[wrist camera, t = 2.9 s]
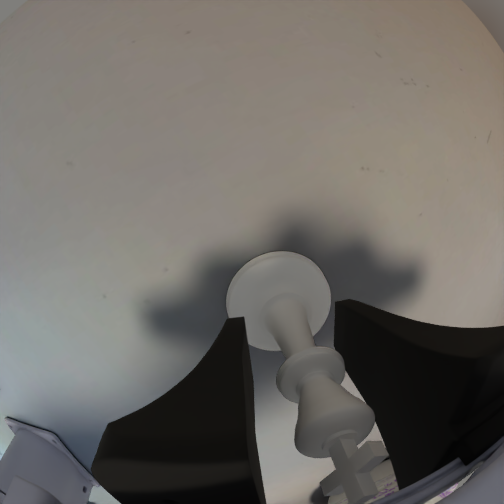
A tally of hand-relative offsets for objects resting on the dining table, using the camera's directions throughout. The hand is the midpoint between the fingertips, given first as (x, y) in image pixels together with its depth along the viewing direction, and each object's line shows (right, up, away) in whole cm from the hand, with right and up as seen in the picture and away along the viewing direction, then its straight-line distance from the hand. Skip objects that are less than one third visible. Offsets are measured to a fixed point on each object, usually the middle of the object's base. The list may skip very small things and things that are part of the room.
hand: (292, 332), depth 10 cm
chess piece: (0, +1, +3) cm, 3 cm away
